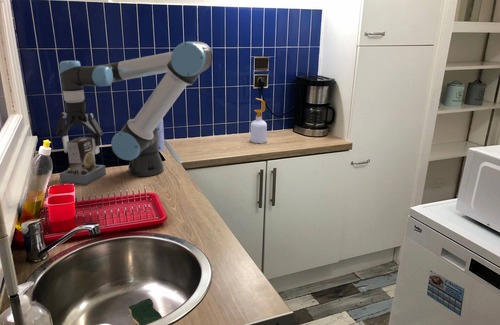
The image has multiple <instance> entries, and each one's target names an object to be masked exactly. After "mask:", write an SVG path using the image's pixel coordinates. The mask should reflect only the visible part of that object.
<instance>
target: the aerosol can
mask: <svg viewBox="0 0 500 325" xmlns="http://www.w3.org/2000/svg"><path fill="white" fill-rule="evenodd" d="M163 118H164V117H163ZM163 118H162V120H161V121H160V122H159V124H158V125H157V127H158V147H159V153H160V151H161V152H164V151H166V148H165V134H164V133H165V132H164V119H163ZM163 150H164V151H163Z"/></svg>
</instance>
